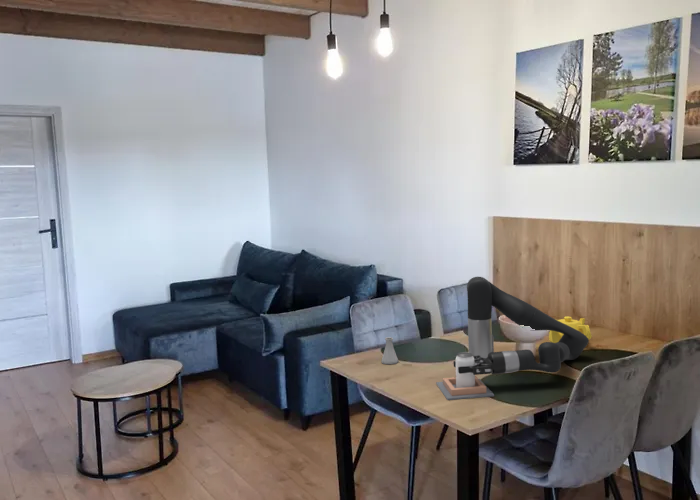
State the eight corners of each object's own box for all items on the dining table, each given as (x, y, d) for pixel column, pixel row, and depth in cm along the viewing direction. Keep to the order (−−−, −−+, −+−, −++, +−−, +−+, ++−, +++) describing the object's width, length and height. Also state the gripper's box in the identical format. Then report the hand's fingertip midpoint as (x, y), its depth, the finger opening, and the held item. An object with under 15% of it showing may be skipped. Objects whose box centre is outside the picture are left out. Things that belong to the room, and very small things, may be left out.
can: (454, 385, 214) (453, 352, 212) (472, 384, 214) (471, 351, 212) (458, 391, 207) (457, 357, 206) (477, 390, 207) (476, 356, 206)
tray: (479, 380, 219) (479, 373, 219) (494, 396, 203) (493, 388, 203) (436, 383, 218) (435, 376, 217) (447, 400, 202) (447, 392, 202)
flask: (397, 365, 241) (396, 340, 240) (379, 364, 242) (378, 340, 241) (399, 359, 248) (399, 335, 247) (382, 359, 249) (381, 335, 248)
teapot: (592, 350, 248) (592, 321, 246) (550, 350, 251) (550, 321, 249) (584, 339, 264) (584, 312, 263) (544, 339, 267) (544, 312, 266)
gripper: (510, 379, 204) (461, 384, 203) (497, 366, 218) (452, 371, 217) (509, 357, 203) (460, 362, 202) (496, 346, 217) (450, 351, 216)
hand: (456, 367), depth 210 cm, fingers open, 6 cm apart
